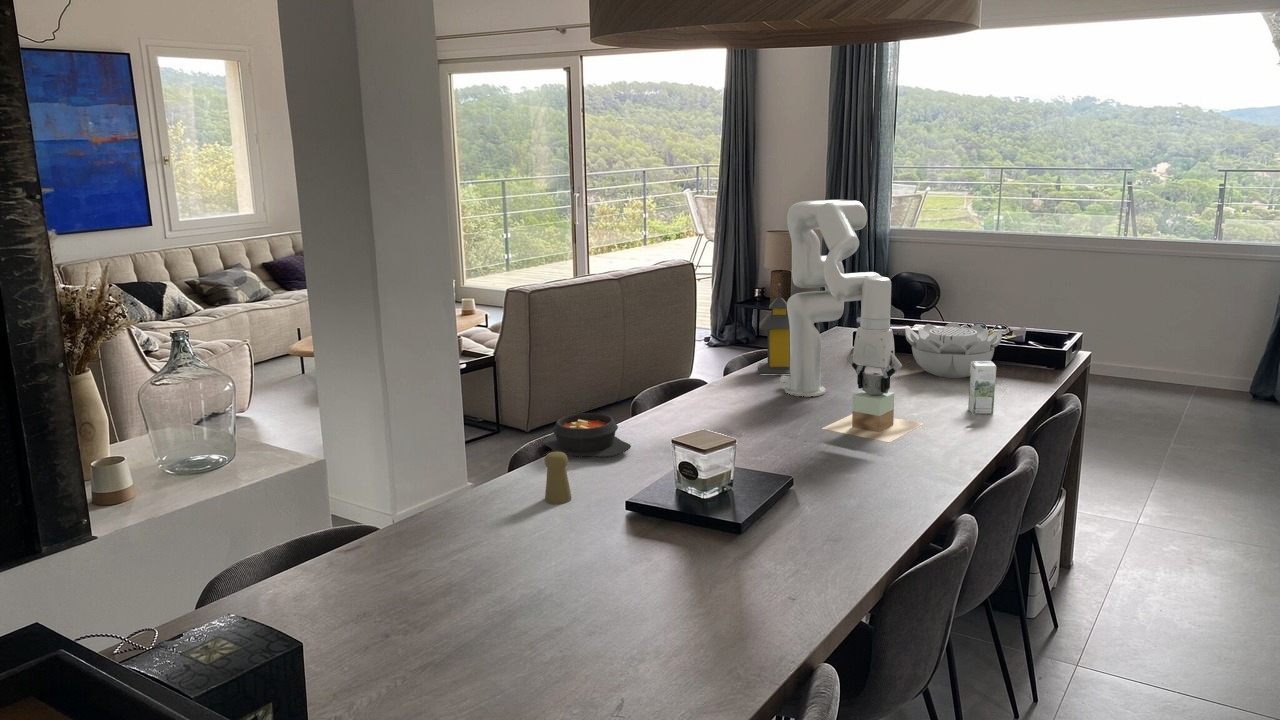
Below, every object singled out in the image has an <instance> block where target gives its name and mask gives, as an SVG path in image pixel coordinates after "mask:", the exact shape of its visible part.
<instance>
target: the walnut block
mask: <svg viewBox="0 0 1280 720" xmlns="http://www.w3.org/2000/svg"><path fill="white" fill-rule="evenodd" d="M851 414H852V427H854V428H859V429H865V430H870V431H875V432H881V431H883V430H885V429H887V428H889V427H891V426H892V425H893V420H894V418H895V417H894V416H895V415H894V414H895V408H894V409H893V410H891V411H889V412H887V413H885V414H883V415H881V416H877V415H871V414H866V413H860V412H855V411H853V410H851Z"/></svg>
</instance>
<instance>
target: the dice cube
mask: <svg viewBox="0 0 1280 720" xmlns="http://www.w3.org/2000/svg"><path fill="white" fill-rule="evenodd" d="M882 378H883V374H882V371H881V370H872V371H870V370H869V371H865V372H863V384H862V388H861V391H865V392H866V393H868V394H870V395H874V394H886V393H888V392H889V390H888V389H886V392H884V393H883V392H881V379H882Z"/></svg>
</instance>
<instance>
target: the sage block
mask: <svg viewBox="0 0 1280 720" xmlns="http://www.w3.org/2000/svg"><path fill="white" fill-rule="evenodd" d="M893 409H894V410H895V392H892V391H891V392H890V391H888V393H886V394H874V395H870V394H868V393H866V392H865V391H863V390H861V391H858V392H856V393H854V394H853V395H852V411H855V412H860V413H866V414H871V415H877V416H881V415H883V414H885V413H887V412H889V411H891V410H893Z"/></svg>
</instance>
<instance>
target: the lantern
mask: <svg viewBox="0 0 1280 720" xmlns="http://www.w3.org/2000/svg"><path fill="white" fill-rule="evenodd" d="M787 302H788V301H786V300H785V299H784V298H783V297H782V283H778V284H777V297H776V298H775V299H774V300H773V301H772V302H770V304H769V306H768V309H769V310H770V309H771V311H770V312H769V313H768V314H767V315H766V316H765V317H764V318H763V319H762V320H760V321H759V326H758V328H759V329H760V330H767V362H759V363H758V375H759V374H790V326H789V318H788V312H787Z"/></svg>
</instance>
